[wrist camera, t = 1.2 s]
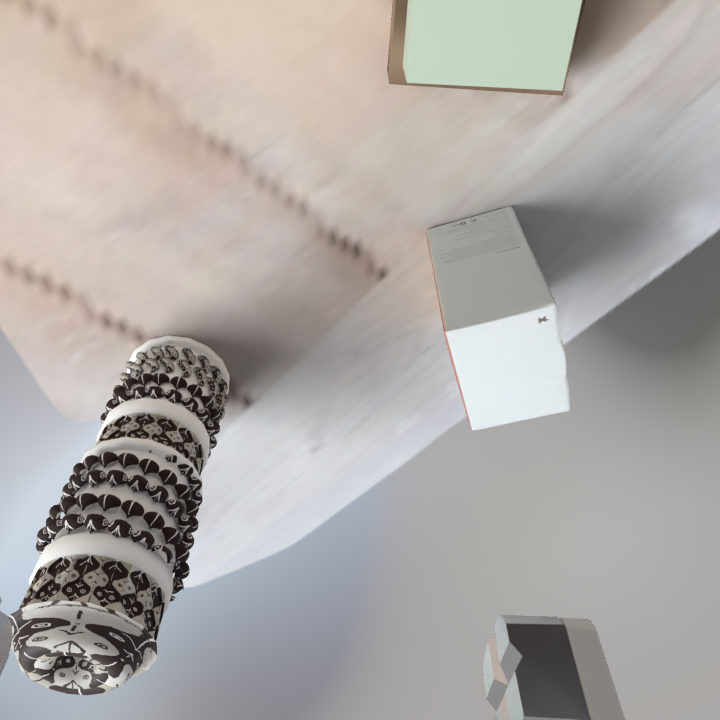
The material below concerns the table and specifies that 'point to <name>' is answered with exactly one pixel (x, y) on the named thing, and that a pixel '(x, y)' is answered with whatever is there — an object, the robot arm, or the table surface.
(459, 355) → the small box
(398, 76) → the tower base
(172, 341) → the decorative candle
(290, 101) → the table surface
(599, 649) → the robot arm
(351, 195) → the table surface
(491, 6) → the tower top
